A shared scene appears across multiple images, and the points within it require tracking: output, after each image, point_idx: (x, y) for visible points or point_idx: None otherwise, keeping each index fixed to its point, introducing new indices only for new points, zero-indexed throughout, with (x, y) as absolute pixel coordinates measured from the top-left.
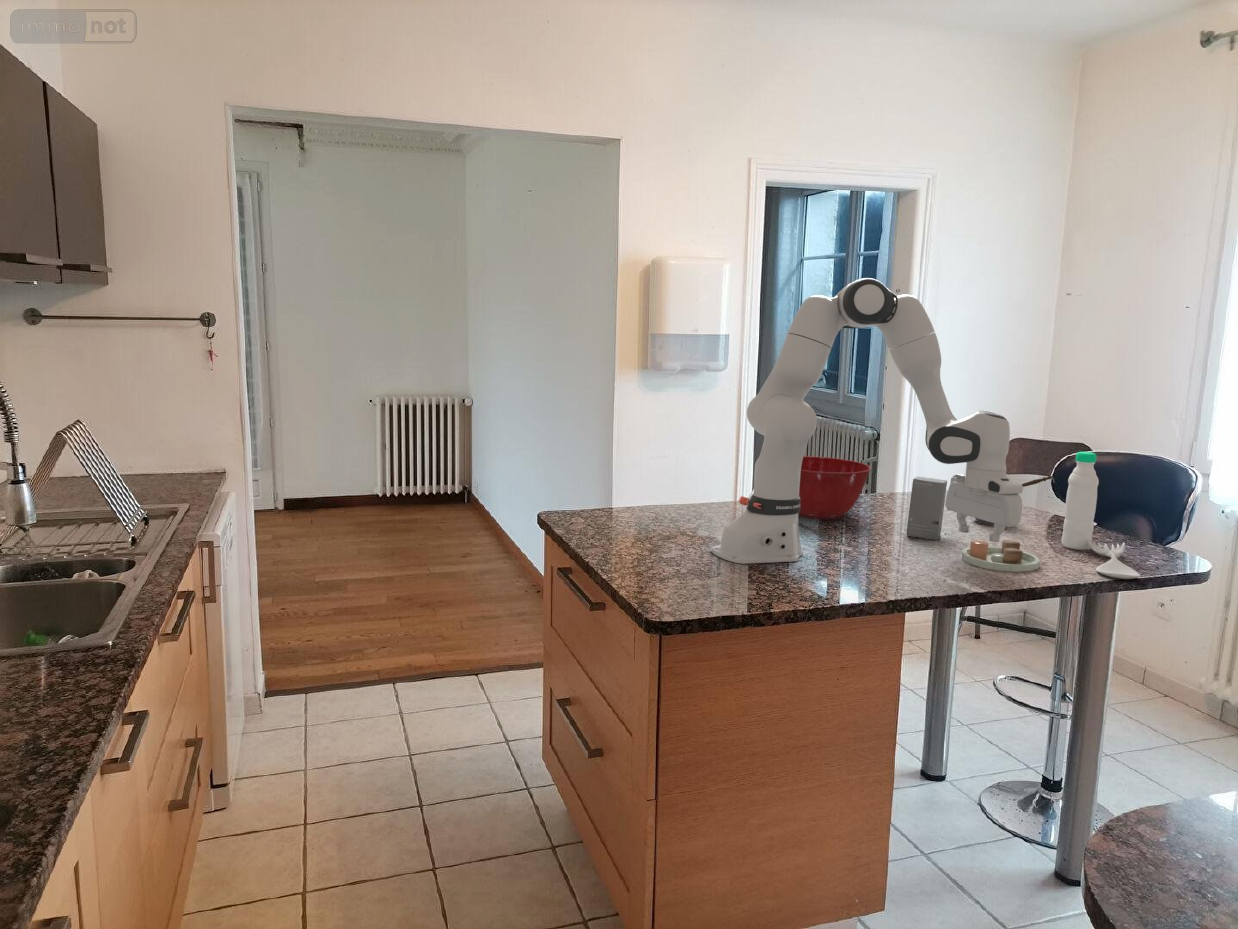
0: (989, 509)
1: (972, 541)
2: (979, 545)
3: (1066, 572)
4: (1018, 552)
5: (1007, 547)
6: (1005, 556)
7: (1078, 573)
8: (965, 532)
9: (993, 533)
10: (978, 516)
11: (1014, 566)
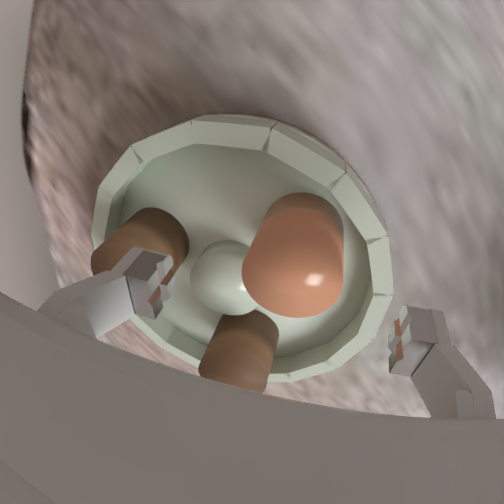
0: (18, 425)
1: (337, 278)
2: (261, 240)
3: (127, 333)
4: (92, 265)
5: (224, 344)
6: (135, 232)
7: (117, 342)
8: (400, 319)
9: (111, 277)
10: (195, 395)
11: (99, 200)
